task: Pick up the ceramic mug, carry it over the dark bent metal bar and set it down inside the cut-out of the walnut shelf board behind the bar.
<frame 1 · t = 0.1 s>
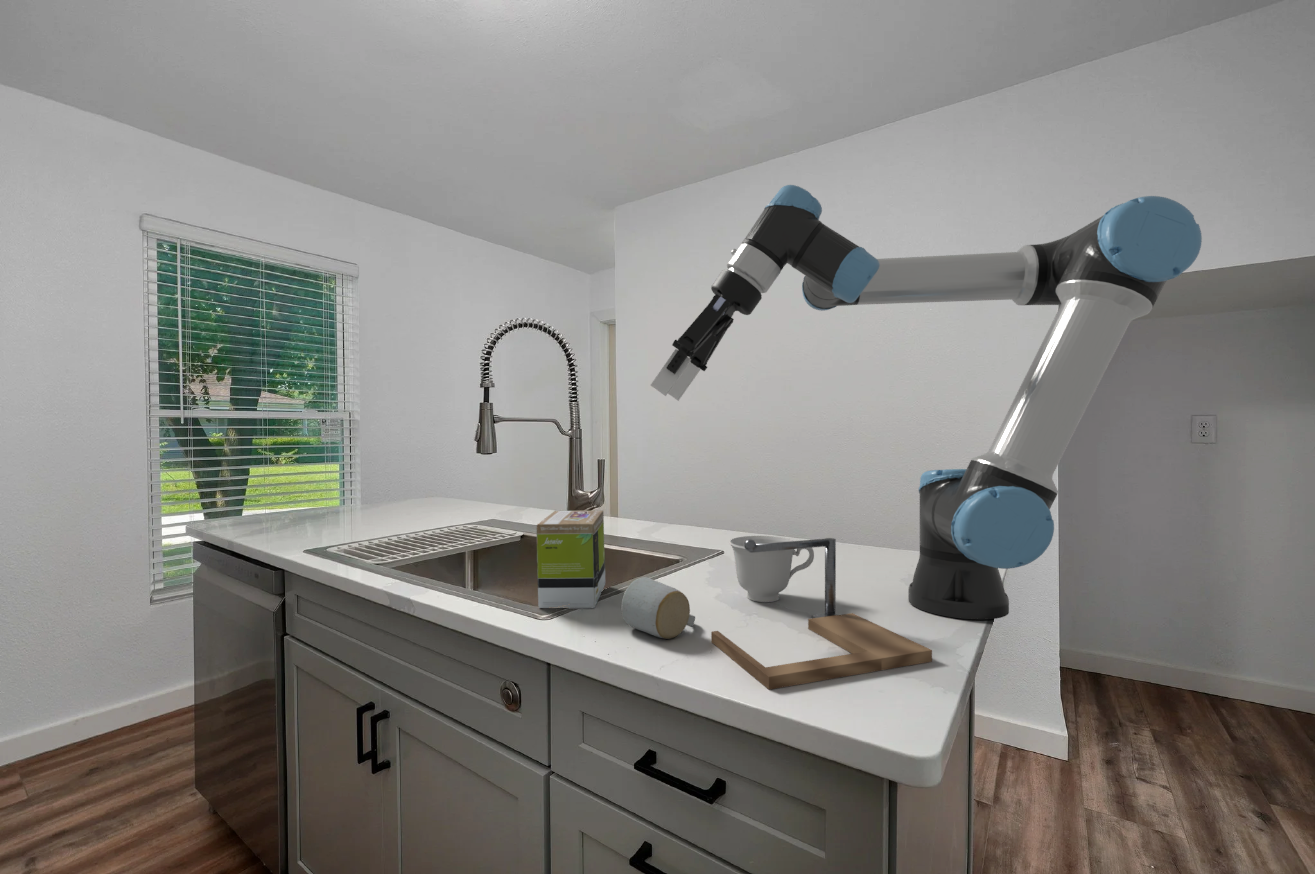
hand: (665, 393, 93), 36 cm above the worktop, tool tilted 35°, fingers open, 13 cm apart
ceramic mug: (662, 632, 88), on the worktop
tea box: (573, 597, 106), on the worktop
bent metal bar: (830, 621, 91), on the worktop
teacup: (771, 599, 104), on the worktop
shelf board: (816, 651, 79), on the worktop
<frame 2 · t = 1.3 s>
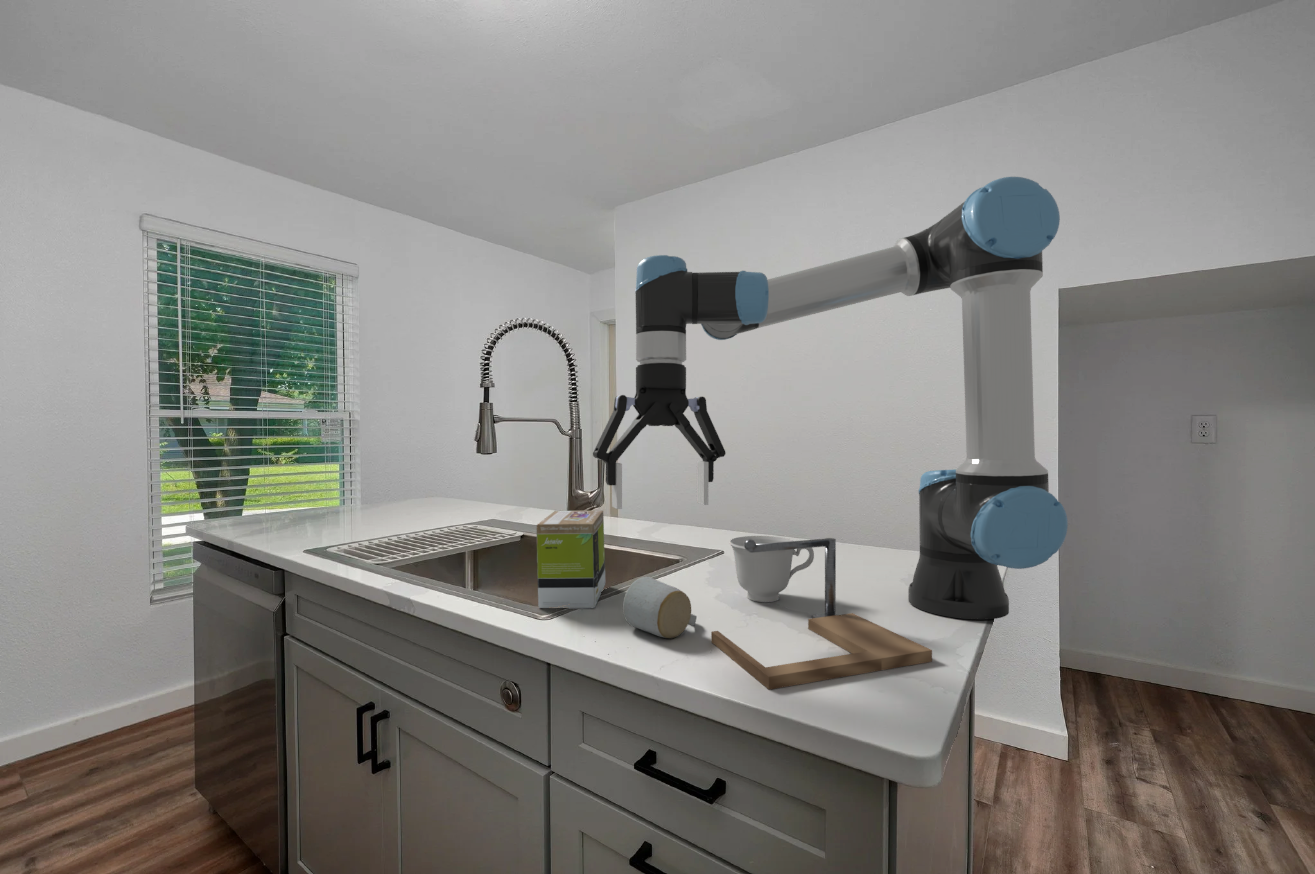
hand: (660, 506, 88), 19 cm above the worktop, tool pointing down, fingers open, 13 cm apart
nothing on the worktop moved.
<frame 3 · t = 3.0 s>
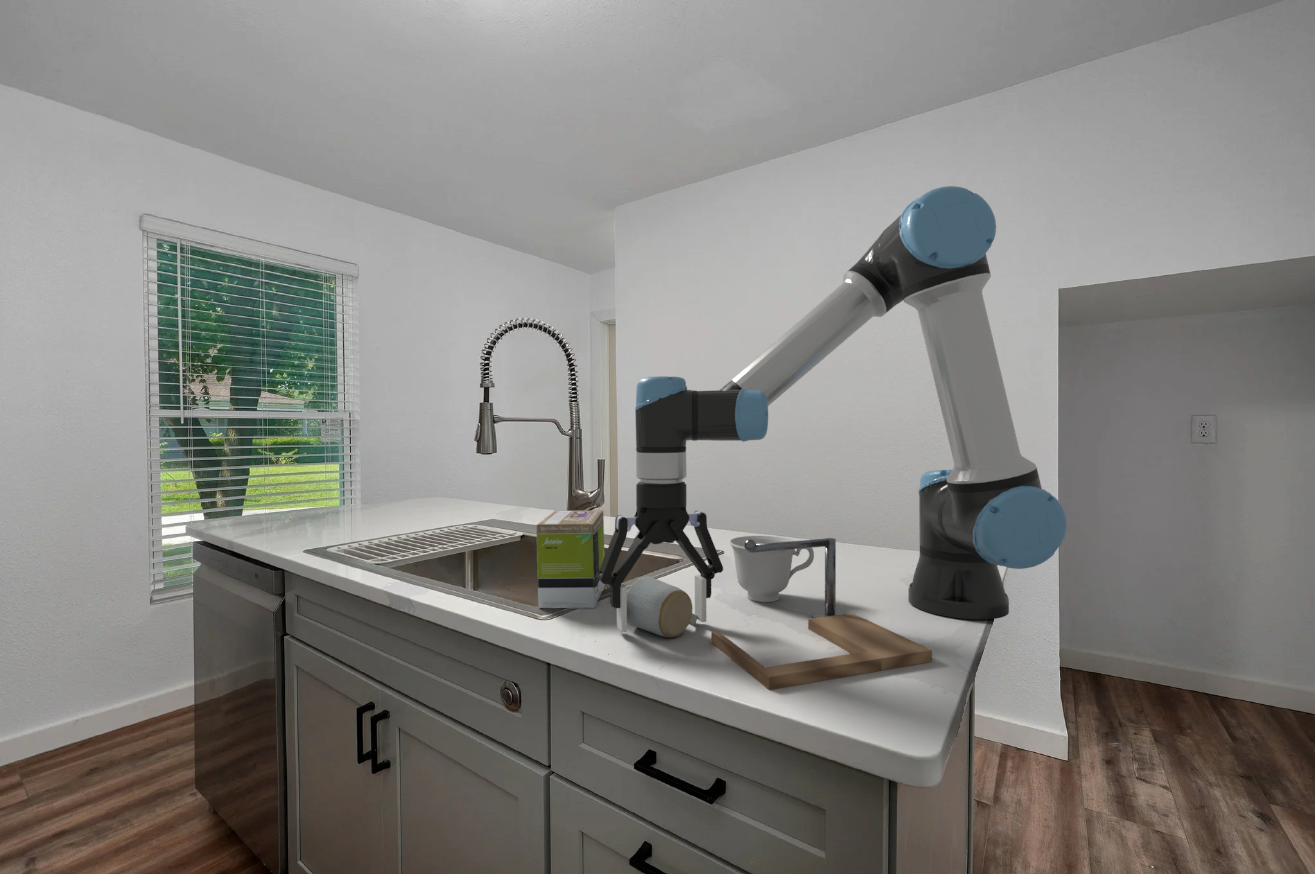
hand: (662, 624, 88), 1 cm above the worktop, tool pointing down, fingers open, 12 cm apart
ceramic mug: (664, 631, 88), on the worktop, touching gripper
everything else where it was.
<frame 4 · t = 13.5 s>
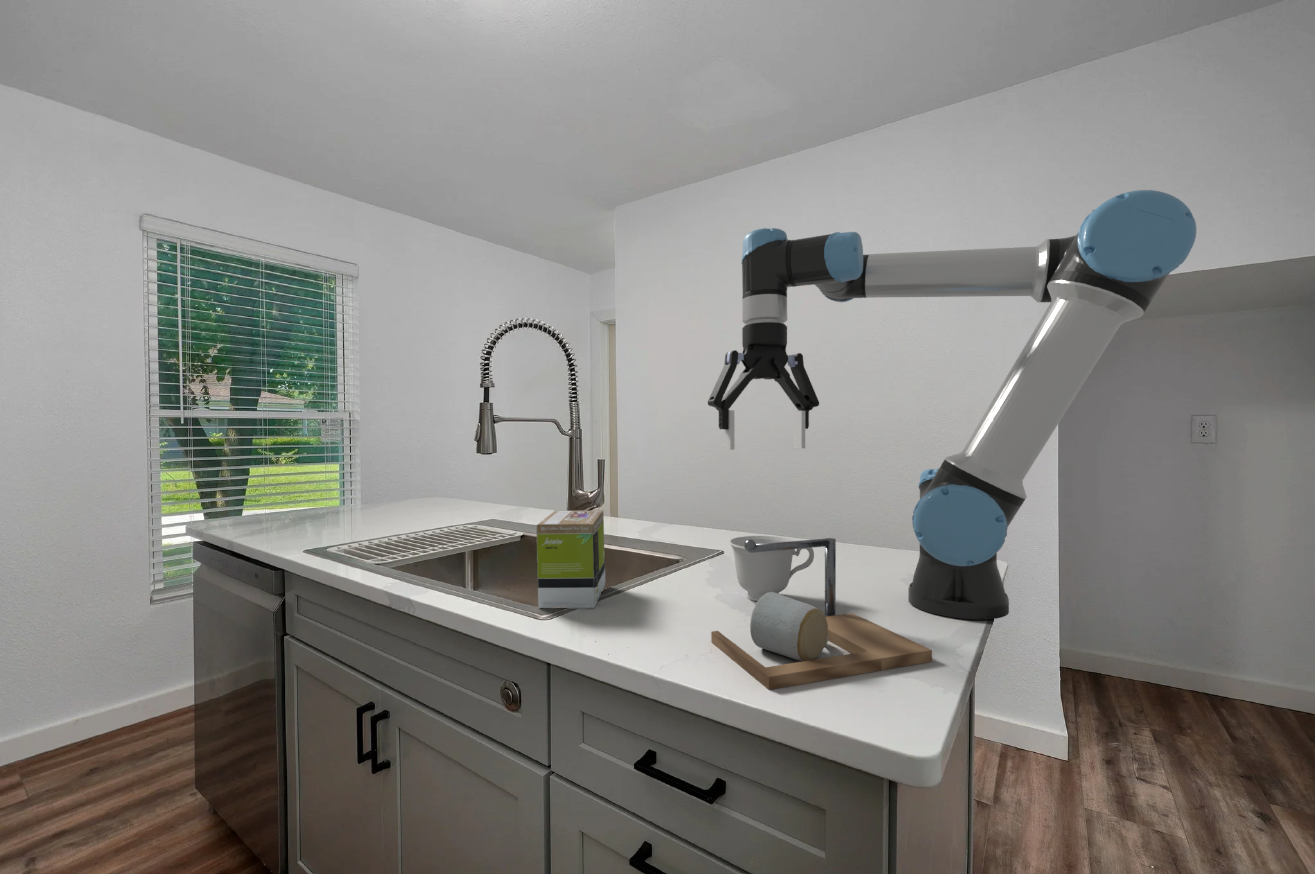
hand: (764, 449, 100), 27 cm above the worktop, tool pointing down, fingers open, 13 cm apart
ceramic mug: (793, 653, 80), on the worktop
everything else where it was.
at the end: ceramic mug inside the target area (1.4 cm from its centre), on the worktop; the gripper is holding nothing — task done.
